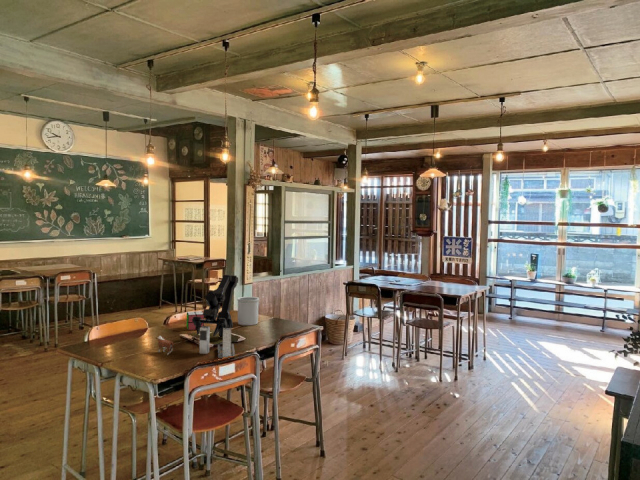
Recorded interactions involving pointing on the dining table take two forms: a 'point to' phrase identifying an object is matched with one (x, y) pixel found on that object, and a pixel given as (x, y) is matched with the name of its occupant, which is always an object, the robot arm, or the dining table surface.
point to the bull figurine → (165, 344)
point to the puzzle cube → (190, 323)
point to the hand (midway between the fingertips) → (205, 335)
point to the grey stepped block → (226, 345)
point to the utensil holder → (248, 310)
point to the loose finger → (204, 339)
